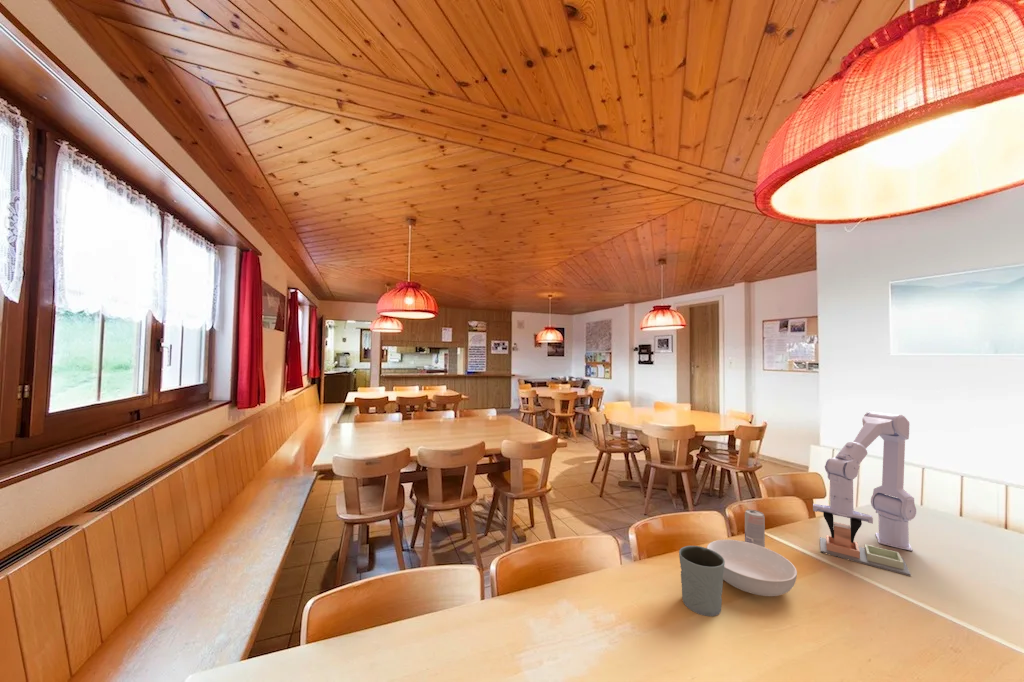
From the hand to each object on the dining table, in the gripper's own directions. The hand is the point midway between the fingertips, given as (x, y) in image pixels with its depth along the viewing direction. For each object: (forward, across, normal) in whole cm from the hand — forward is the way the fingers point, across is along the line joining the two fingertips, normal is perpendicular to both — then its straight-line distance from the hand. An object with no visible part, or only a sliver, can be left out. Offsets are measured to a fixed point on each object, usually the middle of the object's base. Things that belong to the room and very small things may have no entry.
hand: (842, 539), depth 122 cm
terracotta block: (+2, 0, 0) cm, 2 cm away
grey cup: (+4, -29, -60) cm, 67 cm away
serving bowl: (+4, -21, -41) cm, 46 cm away
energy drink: (+4, -22, -19) cm, 29 cm away
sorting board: (+4, +4, 0) cm, 6 cm away
